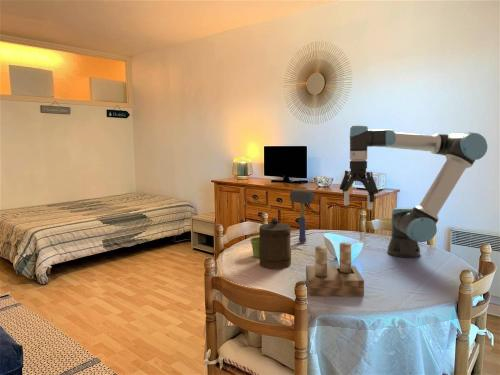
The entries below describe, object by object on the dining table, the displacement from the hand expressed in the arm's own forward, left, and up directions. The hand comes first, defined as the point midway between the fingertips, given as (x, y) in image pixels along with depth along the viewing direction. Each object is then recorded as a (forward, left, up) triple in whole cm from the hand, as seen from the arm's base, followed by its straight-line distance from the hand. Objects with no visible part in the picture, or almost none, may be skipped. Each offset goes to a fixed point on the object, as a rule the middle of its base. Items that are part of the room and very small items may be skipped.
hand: (357, 207), depth 170 cm
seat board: (+15, +28, -27) cm, 41 cm away
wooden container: (+38, 0, -27) cm, 47 cm away
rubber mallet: (+23, -36, -27) cm, 50 cm away
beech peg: (+10, +26, -24) cm, 37 cm away
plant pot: (+46, -12, -27) cm, 55 cm away
